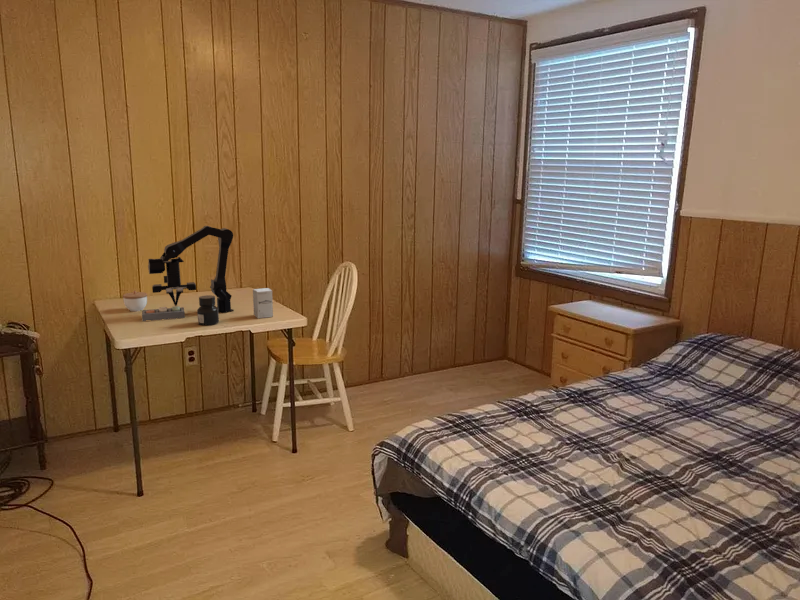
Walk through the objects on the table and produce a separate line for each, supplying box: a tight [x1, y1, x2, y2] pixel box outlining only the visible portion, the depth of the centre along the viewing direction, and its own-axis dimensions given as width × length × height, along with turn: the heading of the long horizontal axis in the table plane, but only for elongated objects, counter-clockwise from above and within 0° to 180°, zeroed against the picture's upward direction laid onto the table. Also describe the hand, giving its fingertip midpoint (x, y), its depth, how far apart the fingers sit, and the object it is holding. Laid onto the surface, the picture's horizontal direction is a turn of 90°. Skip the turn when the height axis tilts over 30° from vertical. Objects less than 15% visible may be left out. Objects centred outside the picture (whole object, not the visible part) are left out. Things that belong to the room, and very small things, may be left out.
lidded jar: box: [122, 290, 148, 312], centre depth 293 cm, size 11×11×9 cm
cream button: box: [158, 306, 168, 312], centre depth 280 cm, size 4×4×2 cm
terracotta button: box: [146, 309, 155, 313], centre depth 279 cm, size 4×4×2 cm
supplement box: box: [252, 287, 274, 319], centre depth 283 cm, size 7×7×13 cm
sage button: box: [171, 305, 181, 311], centre depth 282 cm, size 4×4×2 cm
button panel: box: [141, 306, 186, 322], centre depth 281 cm, size 18×9×3 cm, turn 111°
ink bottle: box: [196, 294, 220, 326], centre depth 270 cm, size 10×9×12 cm
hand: (175, 305), depth 282 cm, fingers closed
